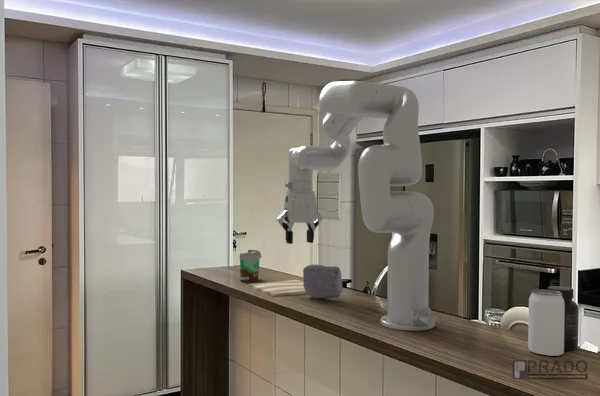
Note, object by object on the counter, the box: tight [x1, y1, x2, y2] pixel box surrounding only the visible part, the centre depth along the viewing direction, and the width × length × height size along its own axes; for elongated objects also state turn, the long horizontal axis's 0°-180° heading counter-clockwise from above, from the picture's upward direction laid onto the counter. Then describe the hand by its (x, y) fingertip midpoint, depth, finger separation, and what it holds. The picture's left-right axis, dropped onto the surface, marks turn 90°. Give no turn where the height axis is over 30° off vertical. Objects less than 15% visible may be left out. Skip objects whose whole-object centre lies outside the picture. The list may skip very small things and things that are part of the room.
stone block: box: [302, 264, 343, 300], centre depth 154 cm, size 12×5×10 cm, turn 54°
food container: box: [239, 249, 262, 282], centre depth 187 cm, size 12×6×10 cm, turn 171°
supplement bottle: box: [547, 285, 580, 351], centre depth 110 cm, size 7×7×12 cm
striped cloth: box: [248, 279, 307, 298], centre depth 169 cm, size 18×18×1 cm
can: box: [527, 289, 565, 357], centre depth 106 cm, size 6×6×12 cm
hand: (299, 242), depth 169 cm, fingers open, 6 cm apart
